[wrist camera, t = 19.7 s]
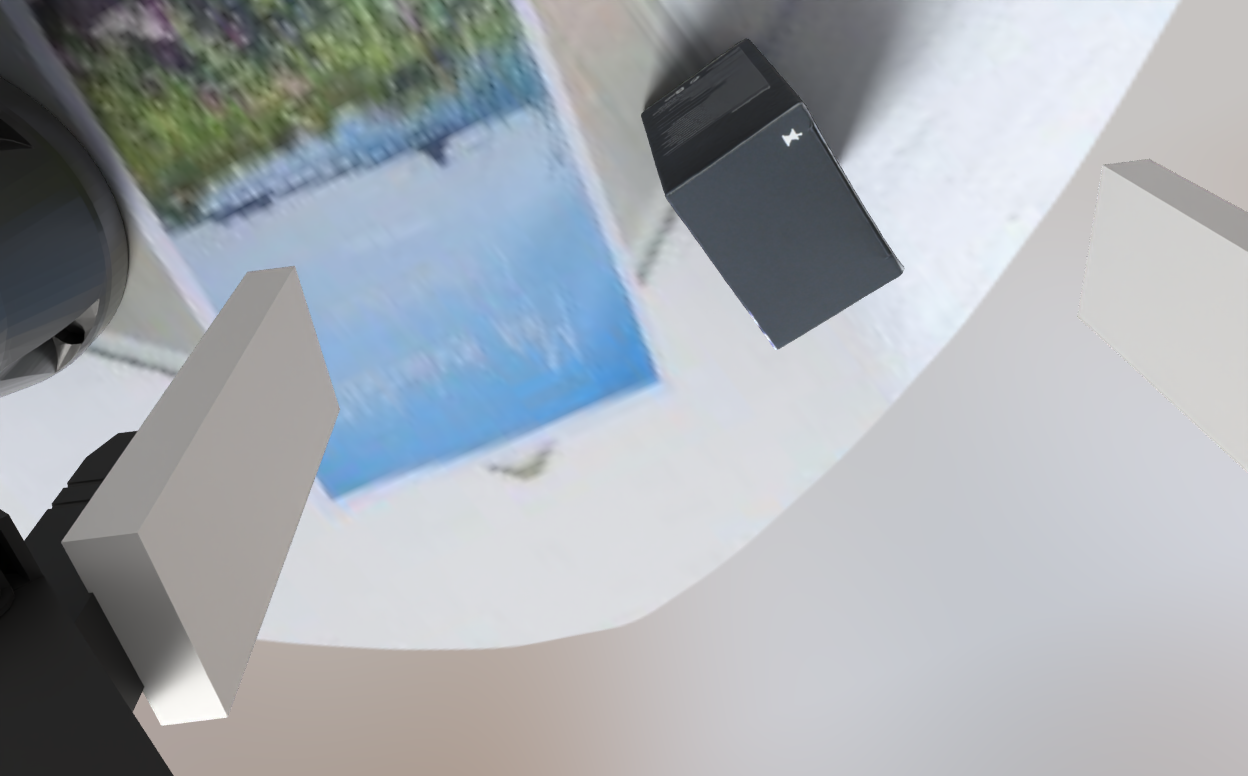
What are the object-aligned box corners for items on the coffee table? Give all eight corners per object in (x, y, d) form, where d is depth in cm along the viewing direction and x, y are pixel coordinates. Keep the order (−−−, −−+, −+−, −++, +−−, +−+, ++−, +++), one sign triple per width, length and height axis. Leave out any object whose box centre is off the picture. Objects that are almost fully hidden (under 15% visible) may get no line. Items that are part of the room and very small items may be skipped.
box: (636, 113, 40) (661, 195, 31) (746, 33, 39) (806, 94, 30) (730, 249, 44) (777, 357, 35) (834, 180, 43) (911, 274, 33)
